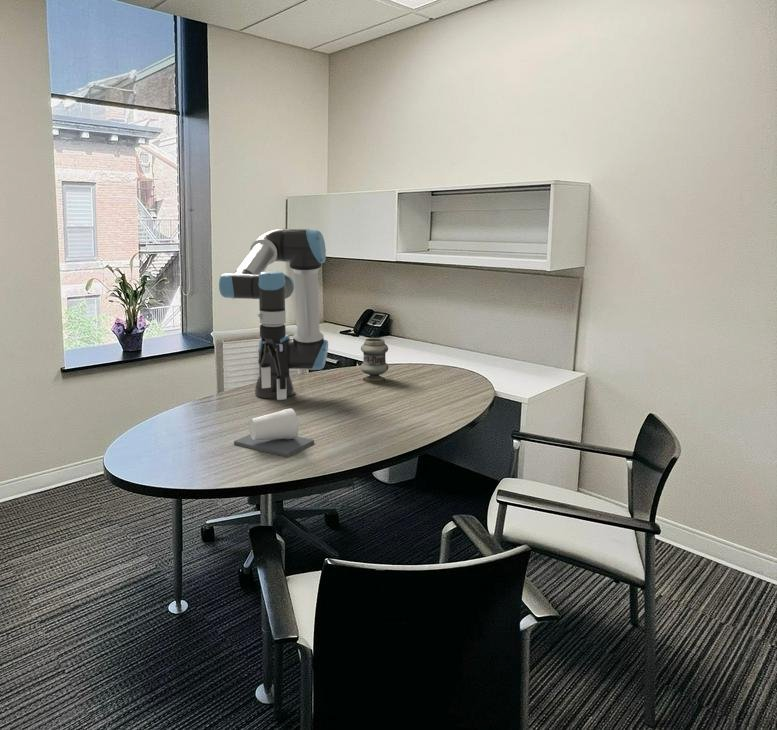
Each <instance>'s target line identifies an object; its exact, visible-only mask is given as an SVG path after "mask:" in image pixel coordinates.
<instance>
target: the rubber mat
mask: <svg viewBox="0 0 777 730" xmlns="http://www.w3.org/2000/svg"><path fill="white" fill-rule="evenodd" d="M313 444H315V439H310V438H306V437H302V436H298V435H297V437H296V438H294V439H288V440H287V439H270V440H253V439H252V438H251V435H250V434H247V435H245V436H243V437H241V438H238V439H236V440H234V441H233V445H235V446H241V447H244V448H248V449H253V450H257V451H261V452H264V453H269V454H273V455H276V456H280V457H285V458H287V457H290V456H291V455H293V454H296V453H298V452H299V451H302V450H303V449H306V448H307V447H309V446H312V445H313Z"/></svg>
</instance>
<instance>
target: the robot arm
mask: <svg viewBox="0 0 777 730" xmlns="http://www.w3.org/2000/svg"><path fill="white" fill-rule="evenodd" d="M326 251H327V249H326V243H325V239H324V235H323V233H322V232H321V231H319V230H318V229H316V230H315V229H310V228H307V229H306V228H305V229H304V228H302V229H301V228H297V229H296V228H294V229H293V228H278V229H273V230H270V231H267V232H265V233H263V234H261V235H260V236H258V237H257V238H256V239H255V240H254V241H253V242H252V243H251V245H250V251H249V252H248V254H247V255H246V256H245V258H244V259H243V260H242V262H241V263H240V264H239V266H238V267H237V268H236V270H235V271H234V272H233V273H231V272H229V273H222V274H221V275H220V277H219V282H218V287H219V288H218V289H219V294H220V296H221V297H223V298H227V299H232V300H234V299H241V300H244V299H245V300H247V299H248V300H250V299H252V300H259V303H258V305H259V313H258V314H257V316H258V318H259V323H260V325H259V336H260V339H259V341H258V360H257V361H258V369H259V371H258V372H259V374H258V377H257V378H258V379H257V381H256V385H255V387H254V395H255V396H257V397H259V398H263V399H270V400H271V399H273V400H275V399H276V400H277V401H280V400H287V398H288V397H292V396H294V394H295V388H294V385H293V382H292V379H291V376H290V369H291V370H306V371H307V370H311V371H313V370H315V371H316V370H323V369H324V367H325V366H326V362H327V357H328V351H329V341H328V340H327V339H325V338H324V333H322V332H321V331H320V312H319V311H320V308H319V307H320V306H319V305H320V303H319V301H320V300H319V277H318V276H319V275H318V274H319V270H321V268H322V264H324V263H326V259H327V258H326V257H327V255H326V254H327V252H326ZM275 262H282V263H283V262H285V263H289V269H290V270H292V271H293V274H294V275H293V276H294V280H293V279H292V277H291V276H289V275H288V274H285V273H284V272H282V271H278V270H277V271H274V270H269V271H266V270H267V268H268V266H269V265H271V264H274V263H275ZM293 293H294V296H295V297H294V299H295V300H294V301H295V316H296V317H295V318H296V319H295V320H296V332H295V333H294V334H293V335H292V338H290V336H289V334H286V333H287V332H286V331H287V330H286V329H287V328H286V325H285V324H286V313H287V311H286V300H287V299H288V298H289V297H290V296H292V294H293Z"/></svg>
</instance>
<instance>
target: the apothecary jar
mask: <svg viewBox="0 0 777 730" xmlns="http://www.w3.org/2000/svg"><path fill="white" fill-rule="evenodd" d="M360 350H361V352H362V353H363V360H362V361H363V362H362V363H361V365H360V370H361V372H363V373H364V374H366V375H367V376H364V377H363V378H362V380H363V381H364V382H366V383H372V384H380V383H384V382H386V377H383V376H381V375H384V374H385V373H387V372H388V370H389V365H388V363H387V362H386V353H387V352H388V351H389V346H388V345H387V344H386V343H385V339H384V338H382V337H368V338H365V339H364V342H363V344H362V345H361V346H360Z"/></svg>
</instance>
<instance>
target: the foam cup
mask: <svg viewBox="0 0 777 730" xmlns="http://www.w3.org/2000/svg"><path fill="white" fill-rule="evenodd" d="M248 430H249V431H248V432H249V435H251V438H252V439H253V440H270V439H287V440H288V439H294V438H296V437H297V436H298V434H299V420H298V416H297V413H296V411H295V410H294V409H293V408H291V407H290V408H286V409H282V410H279V411H276V412H272V413H269V414H265V415H261V416H257V417H254V418H250V419H249V421H248Z"/></svg>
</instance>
